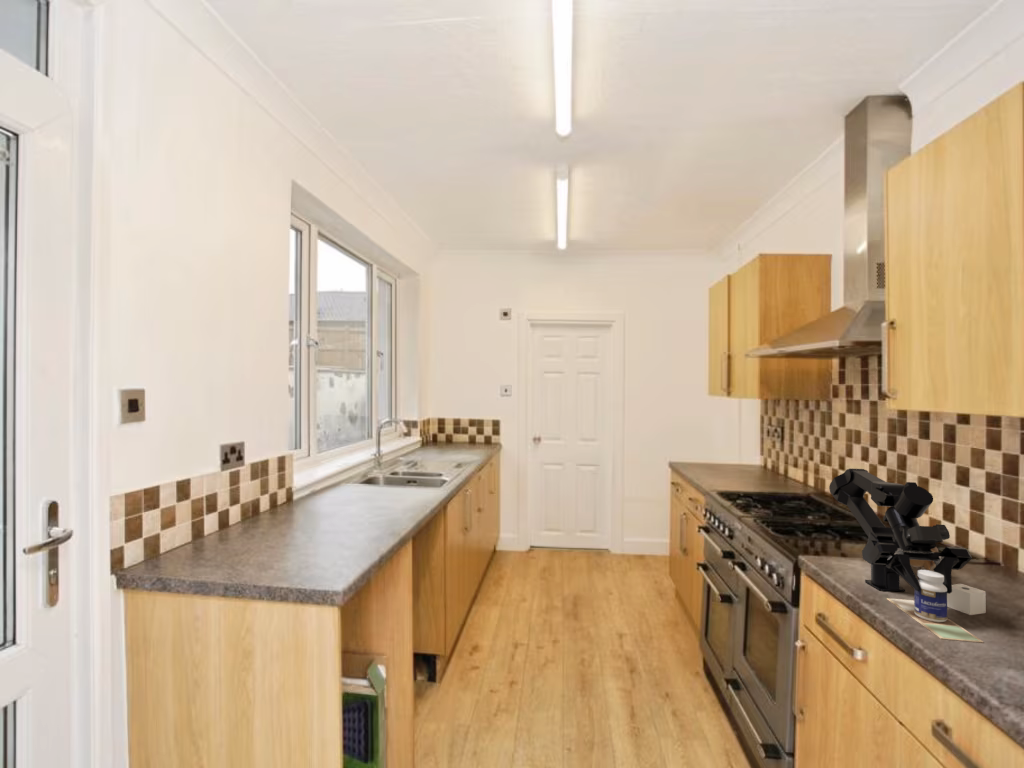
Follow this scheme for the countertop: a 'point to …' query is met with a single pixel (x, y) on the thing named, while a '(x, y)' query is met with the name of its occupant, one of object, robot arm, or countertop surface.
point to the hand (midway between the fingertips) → (934, 591)
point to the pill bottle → (931, 597)
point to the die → (967, 599)
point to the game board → (936, 624)
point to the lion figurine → (923, 562)
